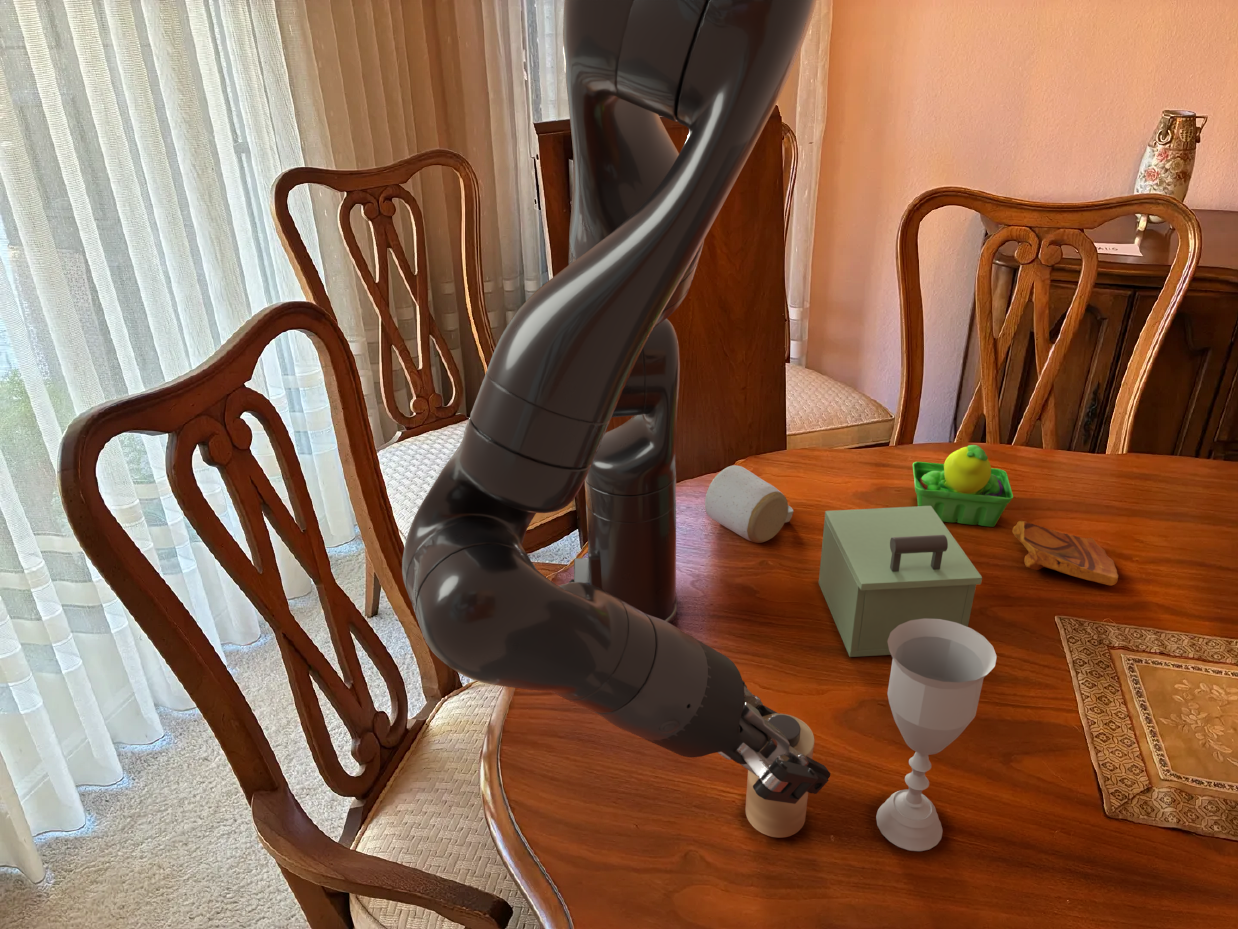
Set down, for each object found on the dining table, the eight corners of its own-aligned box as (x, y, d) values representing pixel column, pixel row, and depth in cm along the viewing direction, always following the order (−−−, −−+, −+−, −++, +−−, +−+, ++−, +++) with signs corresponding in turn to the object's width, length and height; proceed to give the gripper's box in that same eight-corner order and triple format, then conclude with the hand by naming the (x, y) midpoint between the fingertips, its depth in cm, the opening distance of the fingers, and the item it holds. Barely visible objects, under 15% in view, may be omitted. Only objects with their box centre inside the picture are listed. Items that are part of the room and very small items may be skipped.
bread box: (963, 651, 87) (977, 580, 82) (849, 657, 86) (858, 586, 82) (919, 578, 98) (929, 512, 94) (818, 583, 97) (824, 517, 93)
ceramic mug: (749, 555, 103) (753, 500, 99) (702, 527, 108) (704, 474, 105) (808, 525, 108) (813, 472, 105) (760, 500, 114) (764, 449, 111)
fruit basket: (998, 502, 112) (1014, 424, 106) (1008, 539, 104) (1026, 457, 99) (907, 494, 114) (918, 417, 109) (910, 529, 107) (922, 448, 101)
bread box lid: (981, 584, 82) (989, 545, 80) (860, 590, 81) (865, 552, 79) (930, 511, 94) (935, 476, 91) (824, 517, 93) (827, 481, 91)
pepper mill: (751, 839, 67) (757, 752, 63) (740, 790, 71) (746, 705, 67) (811, 836, 67) (822, 749, 63) (798, 787, 72) (807, 702, 67)
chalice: (939, 787, 72) (973, 616, 63) (971, 858, 66) (1014, 679, 57) (852, 792, 72) (875, 620, 63) (876, 863, 66) (905, 685, 57)
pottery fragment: (1011, 517, 103) (1104, 511, 100) (1011, 549, 105) (1102, 544, 102) (1029, 567, 94) (1131, 562, 91) (1028, 600, 96) (1128, 597, 93)
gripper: (751, 713, 51) (891, 788, 61) (652, 583, 63) (783, 663, 73) (671, 803, 52) (821, 863, 62) (588, 659, 64) (725, 728, 74)
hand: (800, 755), depth 67 cm, fingers closed on pepper mill, 5 cm apart
